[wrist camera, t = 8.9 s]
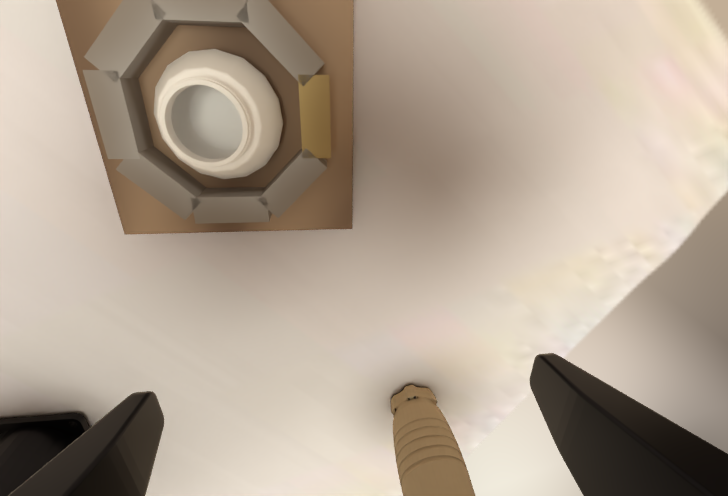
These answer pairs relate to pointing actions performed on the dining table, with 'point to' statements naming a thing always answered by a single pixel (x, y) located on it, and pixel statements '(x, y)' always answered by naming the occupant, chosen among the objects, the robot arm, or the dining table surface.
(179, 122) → the white jar
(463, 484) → the handle
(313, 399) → the dining table surface
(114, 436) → the robot arm
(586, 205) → the dining table surface
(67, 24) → the hub plate
